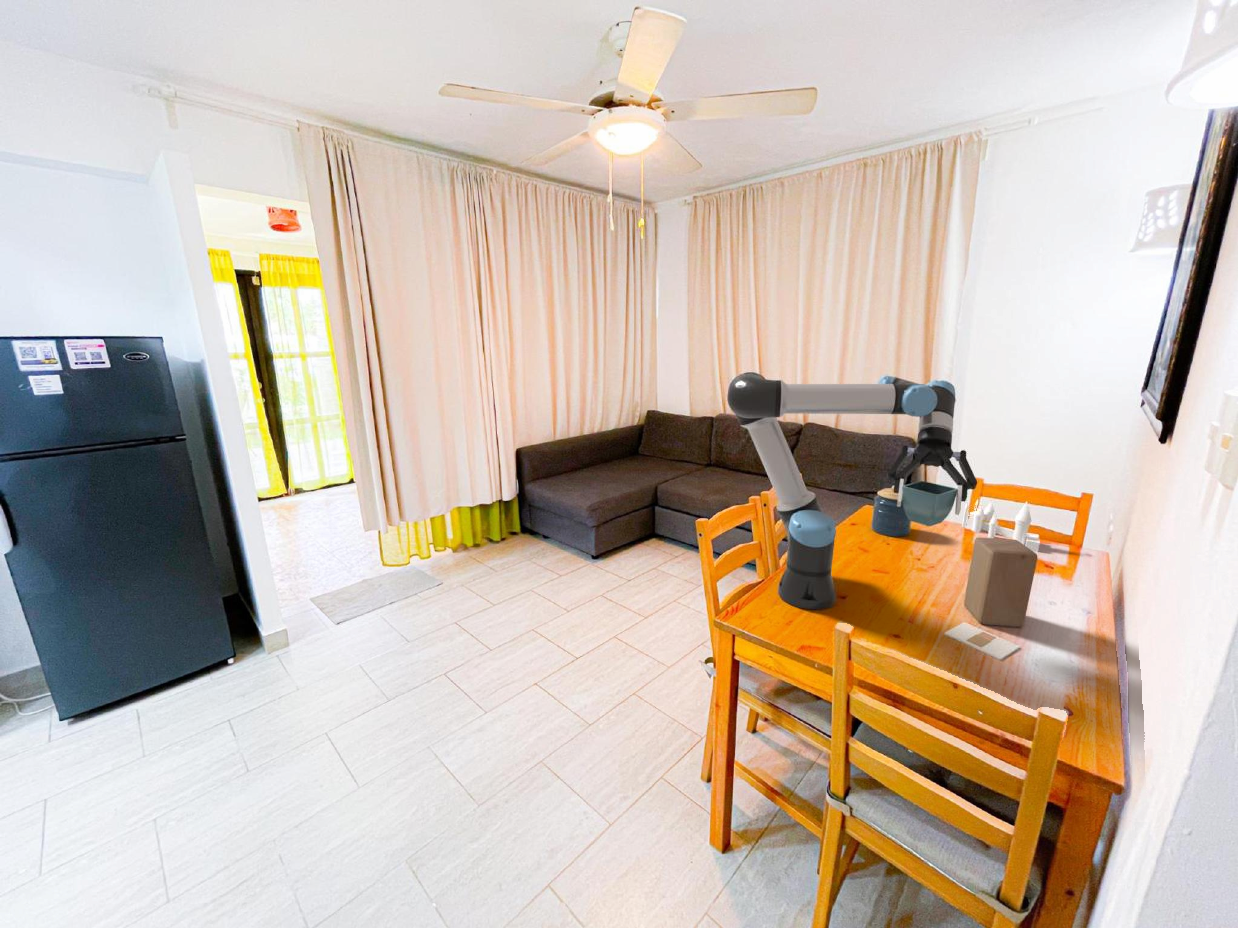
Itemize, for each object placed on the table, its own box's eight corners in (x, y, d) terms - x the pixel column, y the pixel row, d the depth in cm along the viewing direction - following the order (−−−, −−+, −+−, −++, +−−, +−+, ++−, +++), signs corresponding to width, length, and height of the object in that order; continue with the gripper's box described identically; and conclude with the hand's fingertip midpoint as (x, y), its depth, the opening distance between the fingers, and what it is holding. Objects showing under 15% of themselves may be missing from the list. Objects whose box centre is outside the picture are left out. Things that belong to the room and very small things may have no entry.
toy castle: (1036, 553, 168) (1045, 507, 164) (955, 529, 188) (961, 488, 184) (1053, 543, 175) (1063, 499, 171) (973, 522, 196) (980, 482, 192)
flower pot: (896, 520, 125) (901, 485, 123) (917, 513, 130) (922, 480, 127) (932, 531, 118) (938, 494, 116) (953, 524, 122) (959, 488, 120)
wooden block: (1024, 629, 124) (1040, 554, 120) (979, 625, 126) (993, 551, 122) (1003, 608, 134) (1017, 538, 129) (961, 605, 136) (973, 535, 131)
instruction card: (944, 634, 123) (944, 632, 123) (963, 623, 127) (964, 621, 127) (1000, 660, 113) (1000, 658, 113) (1019, 647, 117) (1020, 645, 117)
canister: (879, 522, 197) (885, 478, 192) (915, 531, 187) (922, 485, 183) (864, 530, 189) (869, 485, 184) (901, 540, 179) (907, 492, 175)
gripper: (988, 446, 127) (985, 523, 118) (882, 438, 139) (872, 507, 130) (994, 428, 121) (991, 508, 112) (883, 422, 133) (872, 493, 124)
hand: (927, 508), depth 121 cm, fingers closed on flower pot, 11 cm apart
